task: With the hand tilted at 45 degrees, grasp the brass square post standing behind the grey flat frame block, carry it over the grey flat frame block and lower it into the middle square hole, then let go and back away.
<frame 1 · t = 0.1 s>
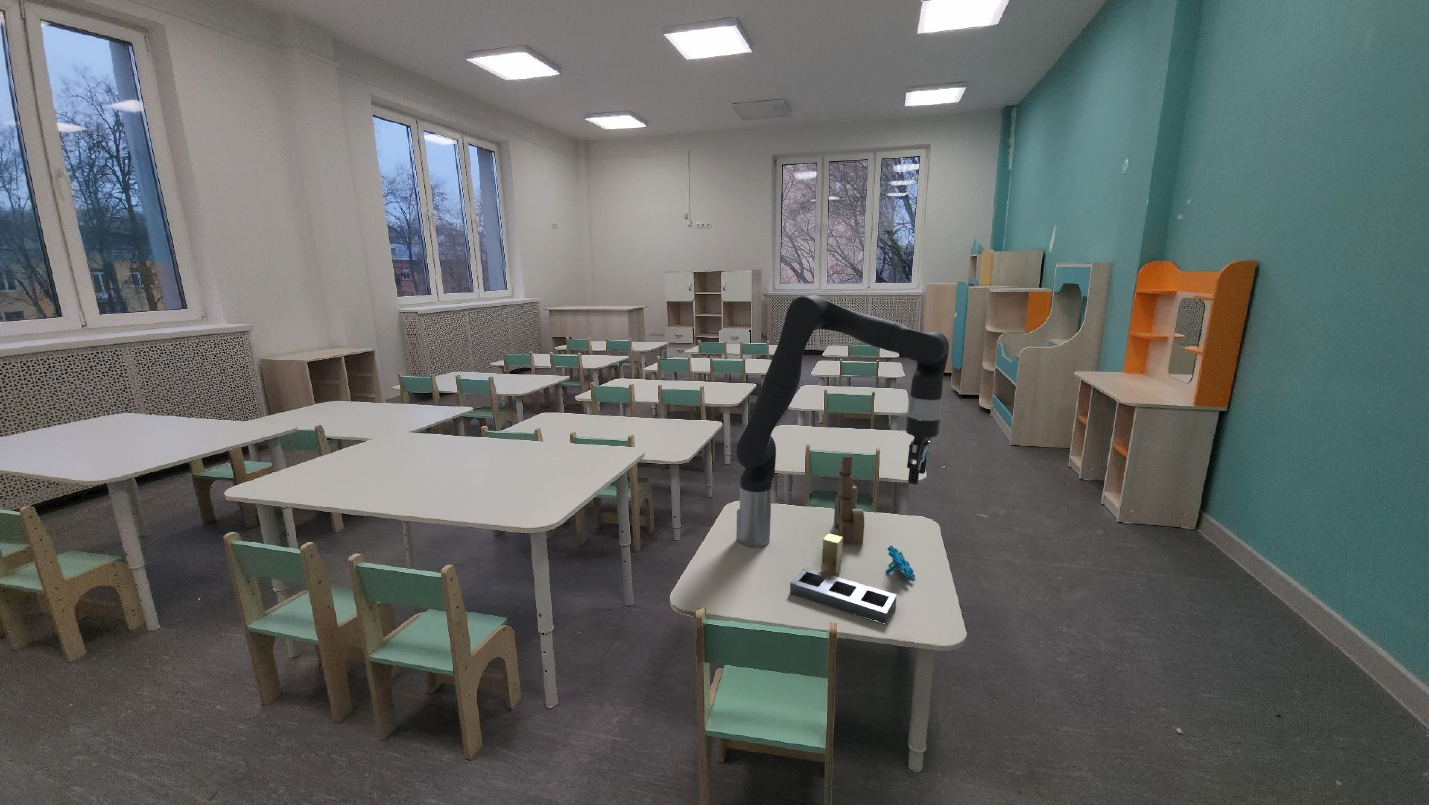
hand: (916, 478, 143), 29 cm above the table, tool pointing down, fingers open, 8 cm apart
gear: (899, 575, 154), on the table
brass post: (831, 572, 155), on the table
wooden toy: (847, 533, 178), on the table
grey flat frame block: (841, 599, 142), on the table
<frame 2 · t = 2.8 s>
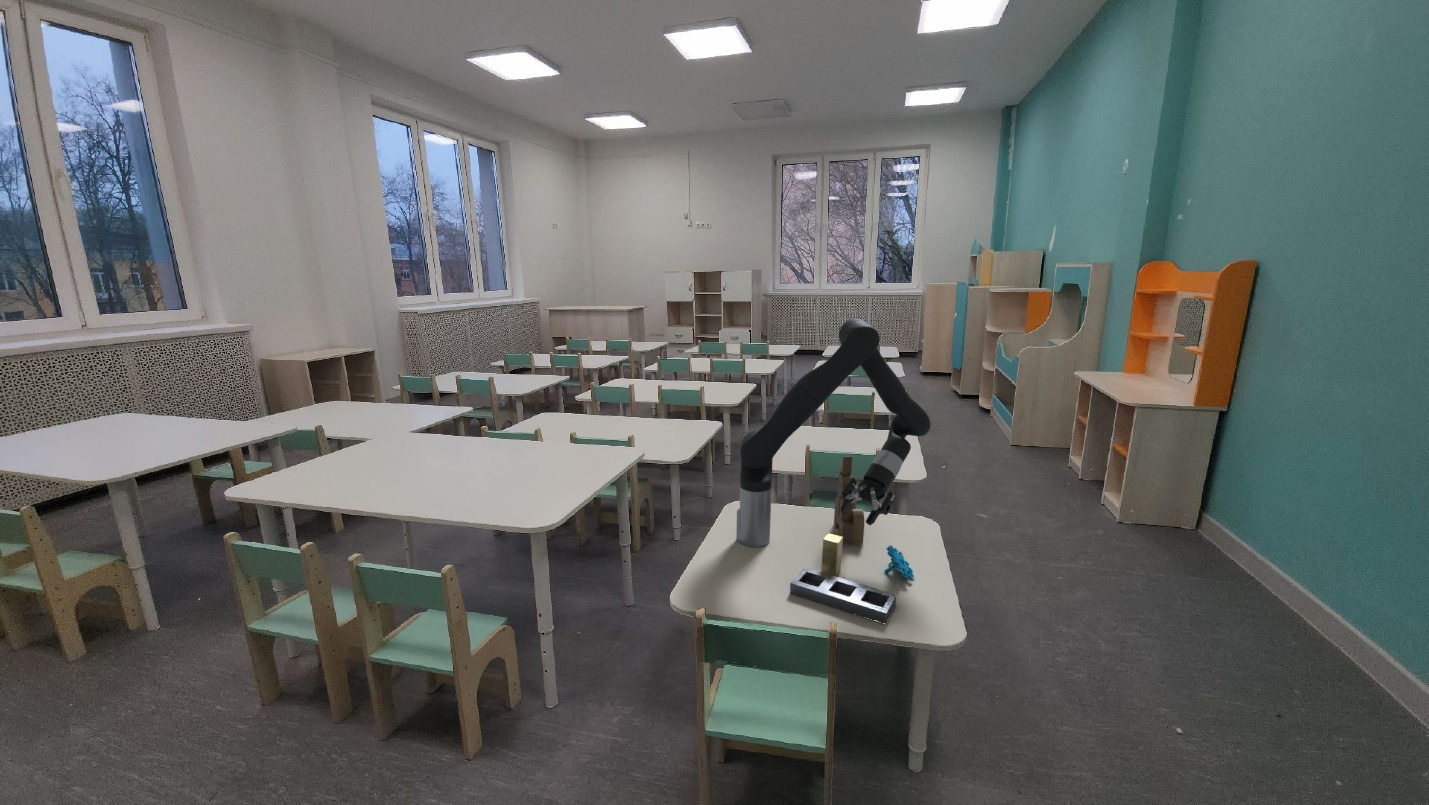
hand: (855, 518, 157), 13 cm above the table, tool tilted 45°, fingers open, 8 cm apart
nothing on the table moved.
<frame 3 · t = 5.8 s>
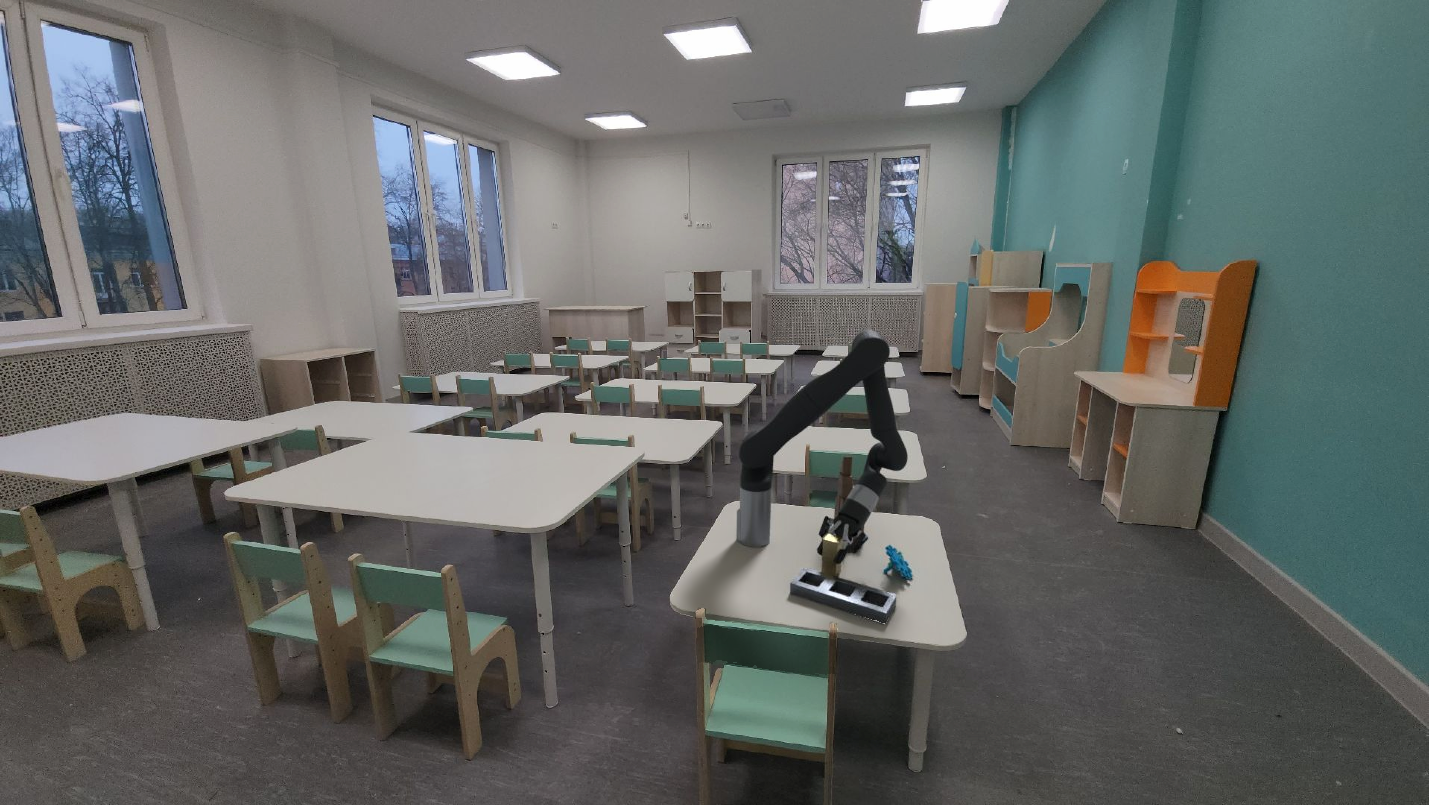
hand: (827, 558, 153), 5 cm above the table, tool tilted 45°, fingers closed on brass post, 5 cm apart
brass post: (831, 572, 155), on the table, touching gripper
everything else where it was.
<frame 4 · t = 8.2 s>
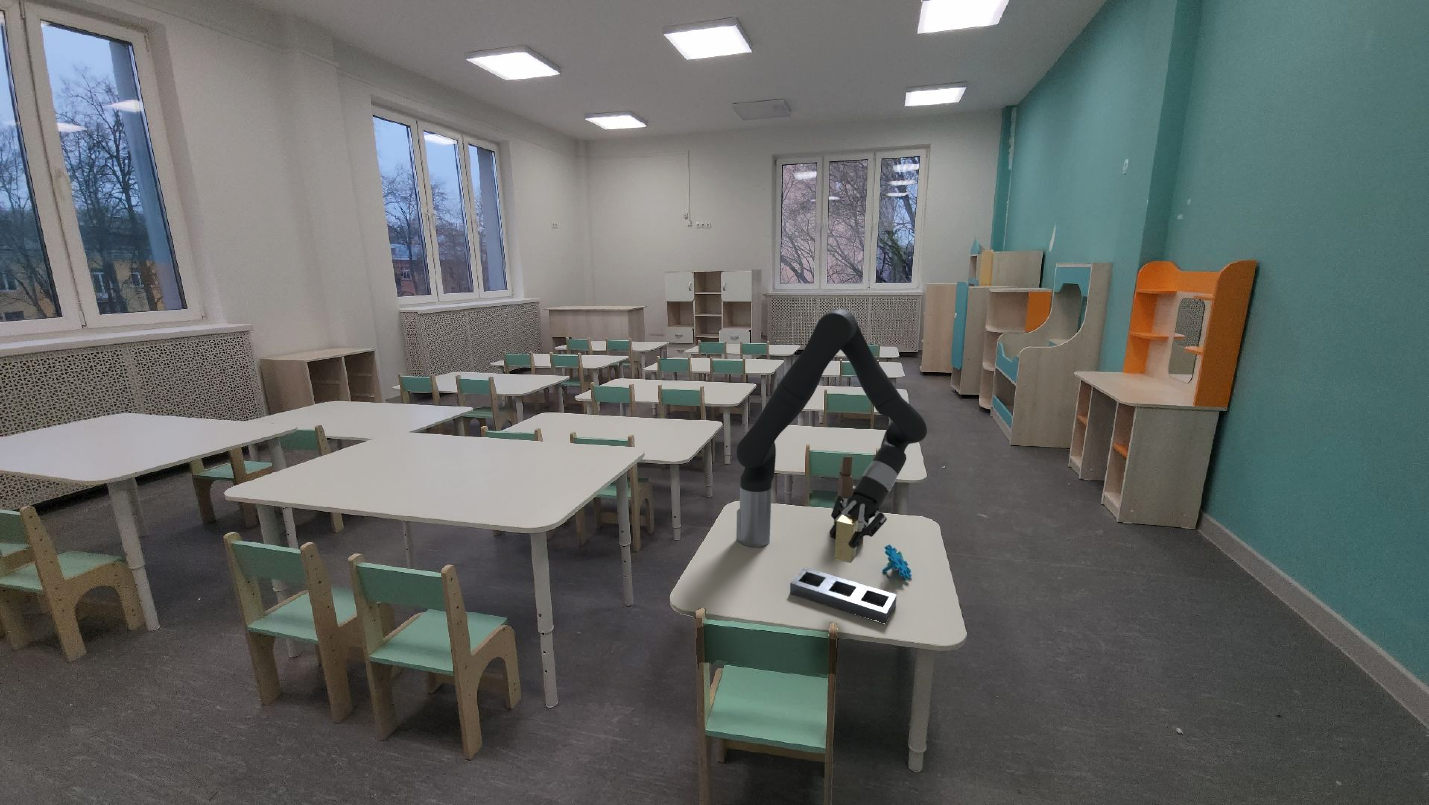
hand: (841, 542, 138), 16 cm above the table, tool tilted 45°, fingers closed on brass post, 5 cm apart
brass post: (845, 557, 140), point 11 cm above the table, touching gripper
everything else where it was.
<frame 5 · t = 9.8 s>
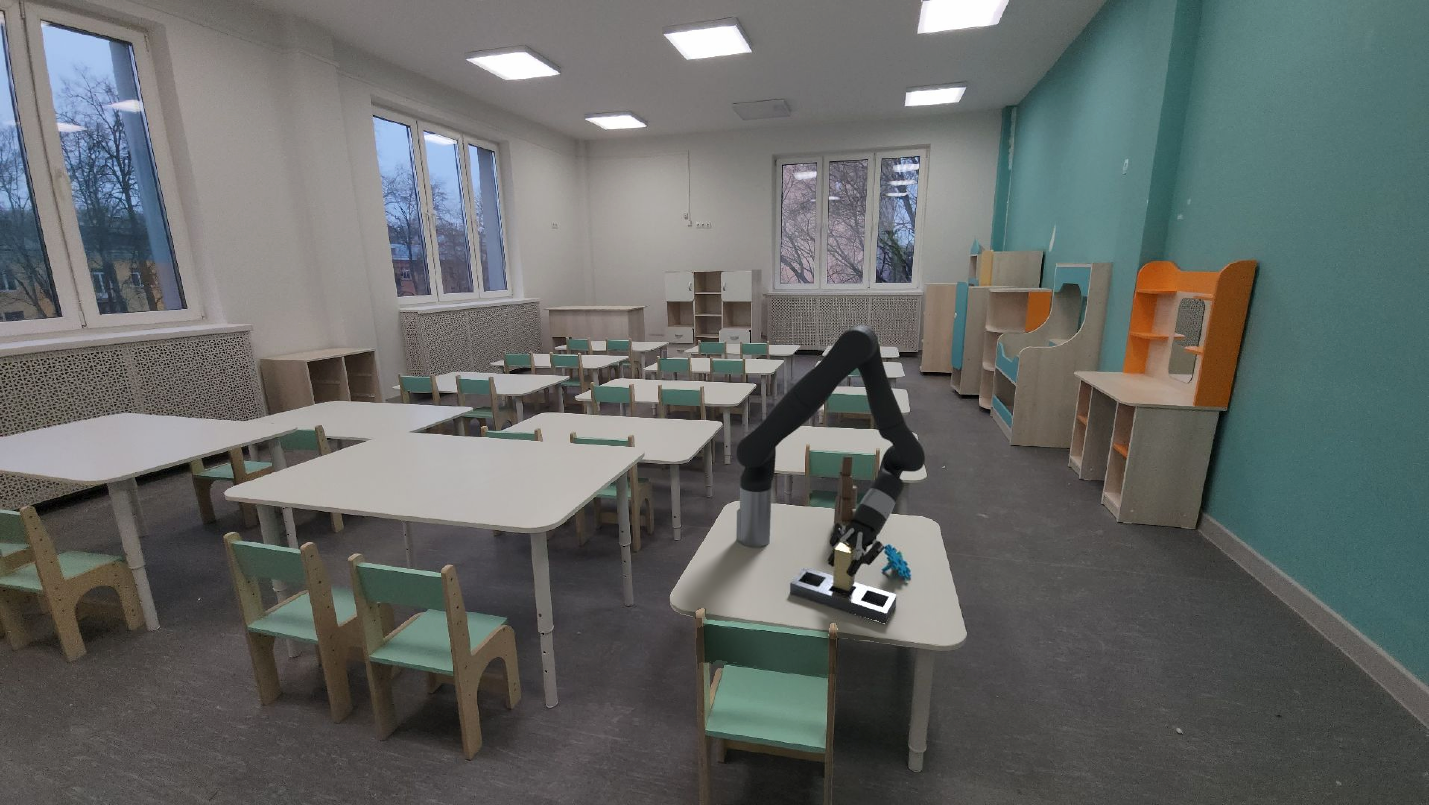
hand: (839, 569, 139), 9 cm above the table, tool tilted 45°, fingers closed on brass post, 5 cm apart
brass post: (843, 584, 141), point 4 cm above the table, touching gripper
everything else where it was.
when the fingers open (6 cm above the table, at t = 11.0 s): brass post drops 1 cm, resting in grey flat frame block.
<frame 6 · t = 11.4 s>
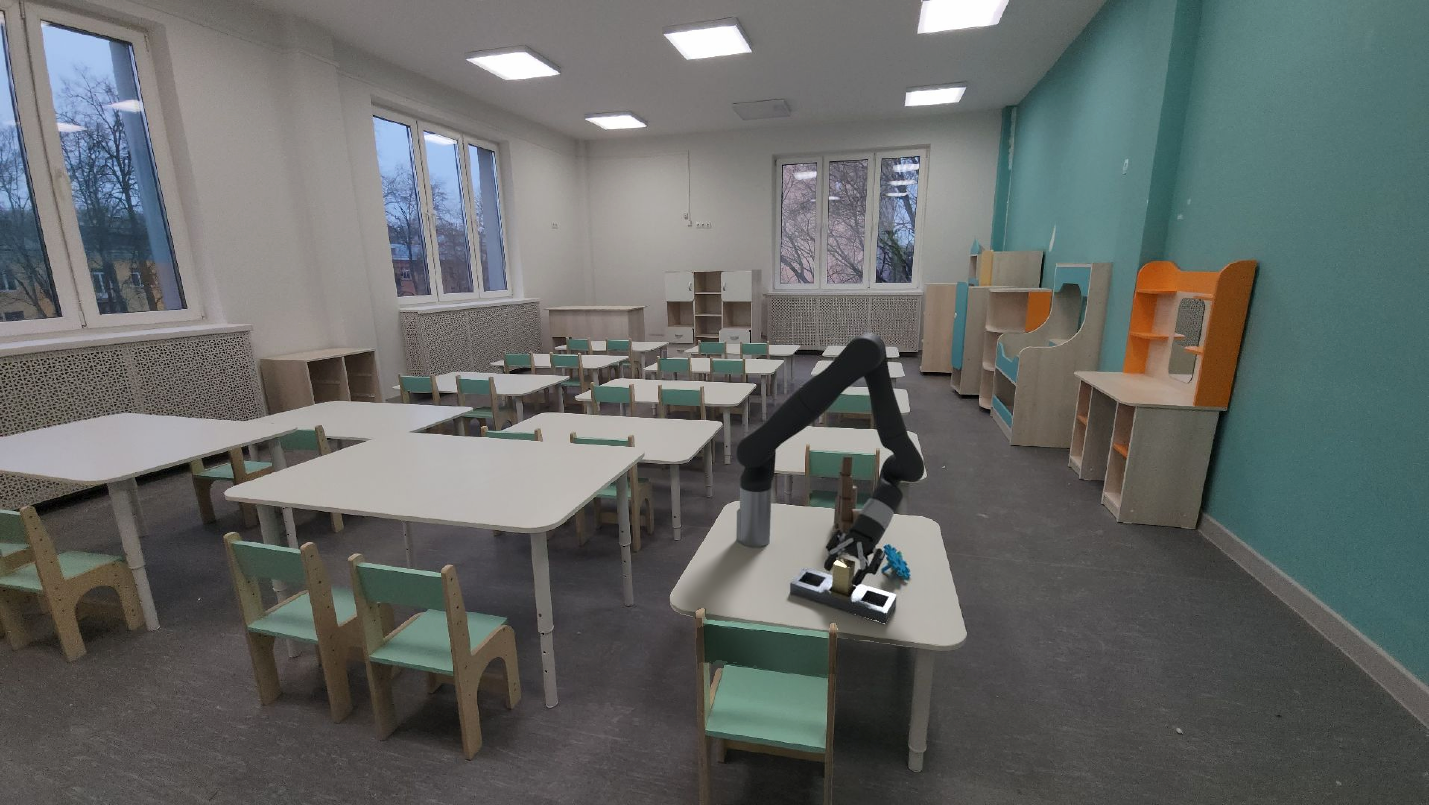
hand: (839, 577, 140), 7 cm above the table, tool tilted 45°, fingers open, 8 cm apart
brass post: (841, 599, 143), resting in grey flat frame block
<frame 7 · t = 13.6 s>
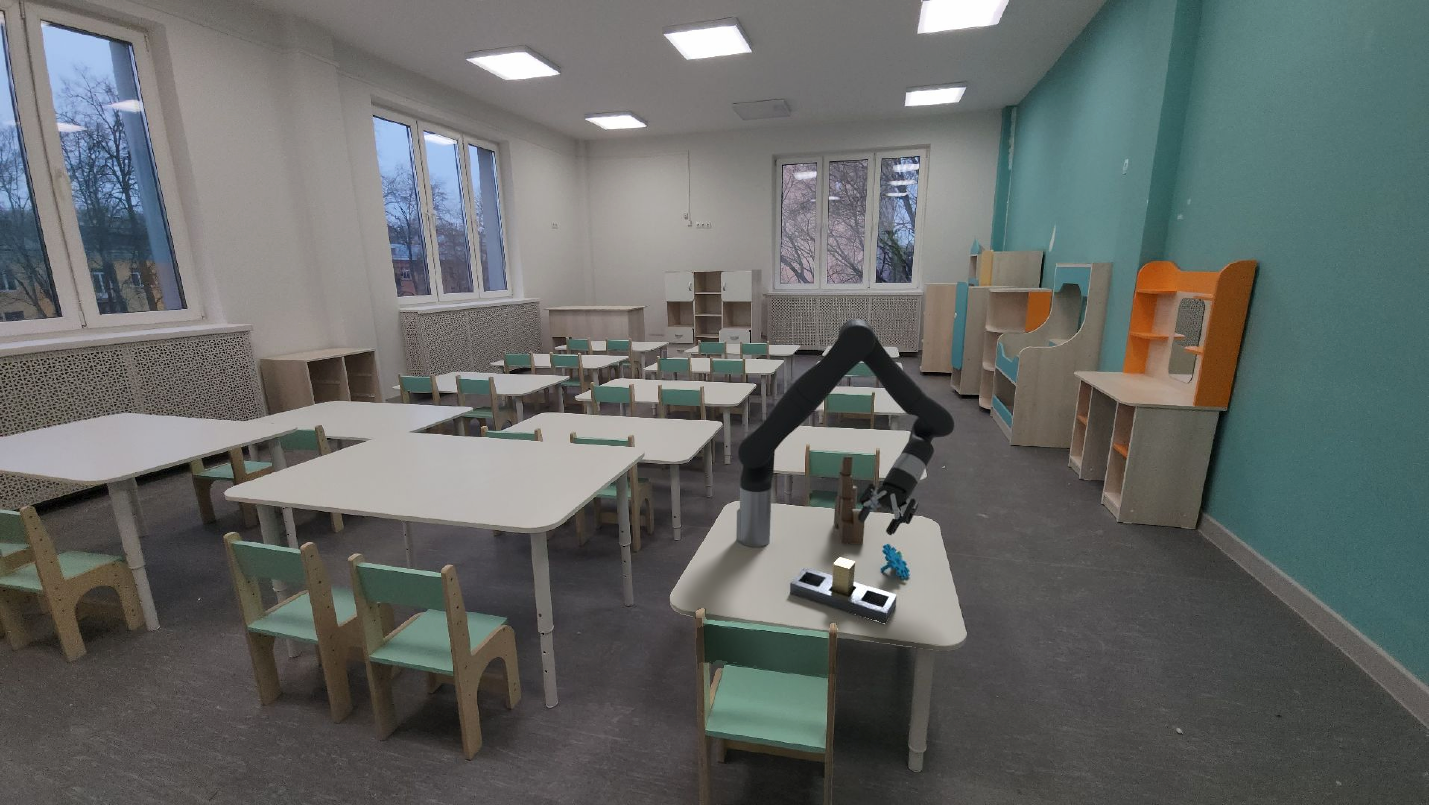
hand: (874, 527, 145), 16 cm above the table, tool tilted 45°, fingers open, 8 cm apart
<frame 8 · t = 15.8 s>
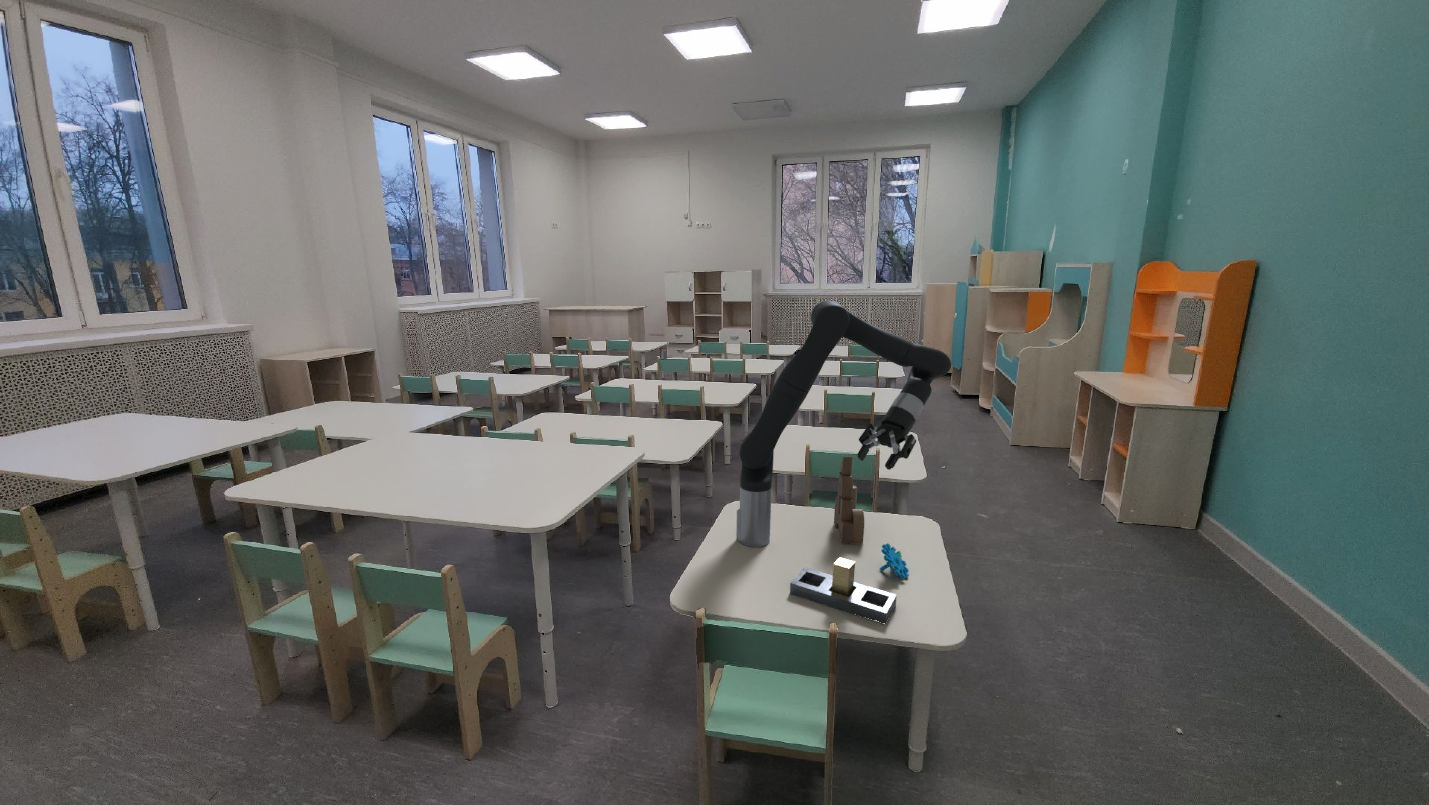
hand: (873, 463, 149), 31 cm above the table, tool tilted 45°, fingers open, 8 cm apart
at the end: brass post 0.2 cm off-centre on the grey flat frame block, point 0.0 cm above the grey flat frame block's base; brass post tilted 0°; the gripper is holding nothing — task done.
